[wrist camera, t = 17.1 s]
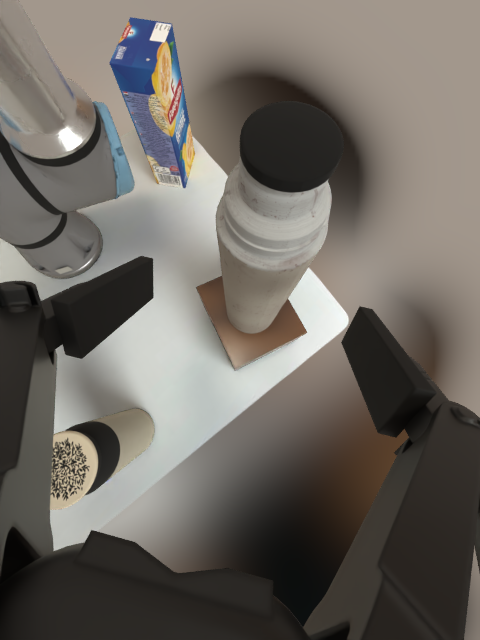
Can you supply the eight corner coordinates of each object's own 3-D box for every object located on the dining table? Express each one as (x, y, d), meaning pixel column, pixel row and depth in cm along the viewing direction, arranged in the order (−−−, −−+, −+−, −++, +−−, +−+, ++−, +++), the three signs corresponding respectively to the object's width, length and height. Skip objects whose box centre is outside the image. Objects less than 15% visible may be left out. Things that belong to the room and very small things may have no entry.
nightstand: (203, 305, 48) (196, 287, 38) (258, 280, 50) (264, 257, 40) (235, 370, 45) (235, 368, 35) (292, 341, 47) (307, 332, 37)
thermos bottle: (217, 302, 38) (173, 109, 11) (258, 279, 39) (311, 53, 12) (243, 343, 36) (266, 237, 9) (284, 317, 37) (414, 158, 10)
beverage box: (195, 153, 58) (172, 23, 37) (185, 188, 55) (154, 69, 34) (168, 149, 58) (130, 17, 37) (157, 184, 55) (109, 63, 34)
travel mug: (147, 401, 43) (87, 416, 26) (161, 443, 41) (107, 490, 24) (105, 419, 42) (14, 449, 25) (118, 463, 40) (30, 528, 23)
